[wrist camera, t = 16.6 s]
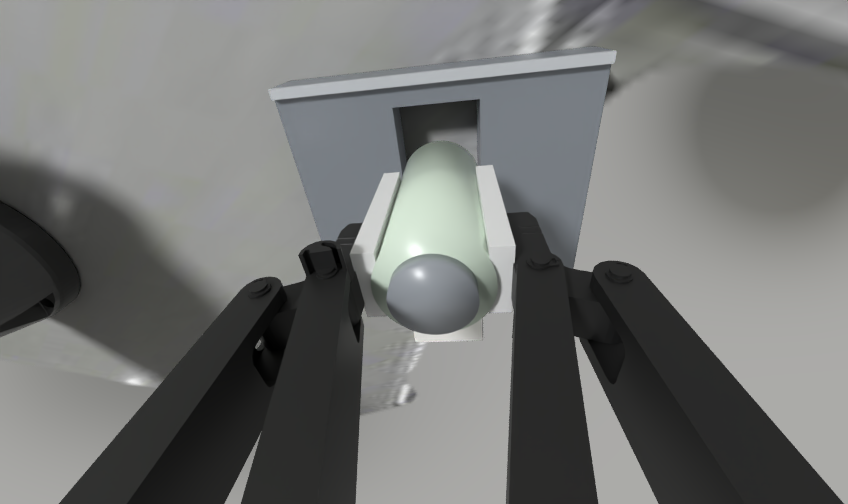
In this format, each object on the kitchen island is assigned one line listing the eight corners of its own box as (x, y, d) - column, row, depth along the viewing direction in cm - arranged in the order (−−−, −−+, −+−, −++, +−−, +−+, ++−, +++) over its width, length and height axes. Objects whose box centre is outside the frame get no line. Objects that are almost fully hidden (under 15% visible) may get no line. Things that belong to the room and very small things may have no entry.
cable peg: (398, 144, 17) (353, 252, 9) (478, 137, 17) (501, 244, 9) (409, 214, 19) (379, 347, 11) (479, 209, 19) (498, 346, 11)
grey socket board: (349, 281, 33) (341, 306, 30) (289, 80, 23) (267, 89, 20) (558, 272, 31) (569, 297, 28) (594, 46, 21) (616, 50, 18)
